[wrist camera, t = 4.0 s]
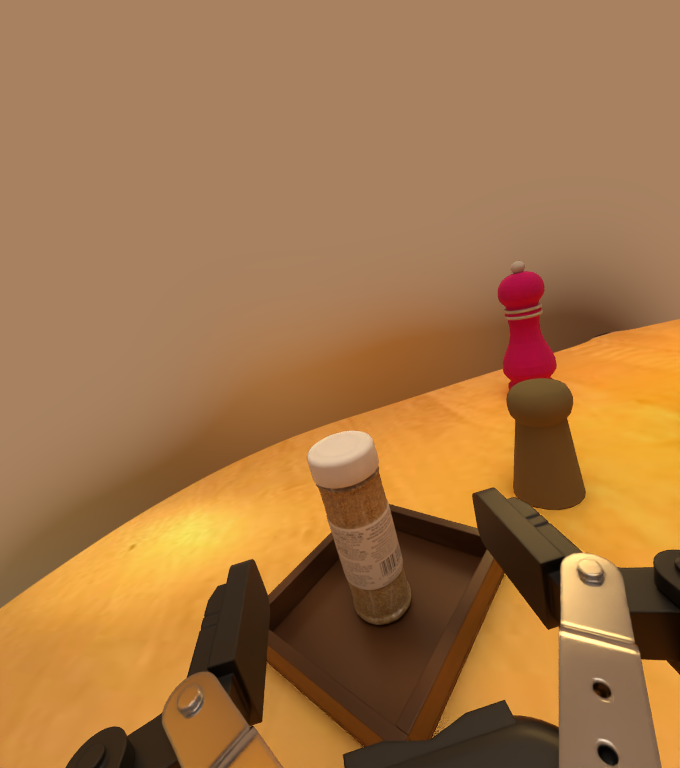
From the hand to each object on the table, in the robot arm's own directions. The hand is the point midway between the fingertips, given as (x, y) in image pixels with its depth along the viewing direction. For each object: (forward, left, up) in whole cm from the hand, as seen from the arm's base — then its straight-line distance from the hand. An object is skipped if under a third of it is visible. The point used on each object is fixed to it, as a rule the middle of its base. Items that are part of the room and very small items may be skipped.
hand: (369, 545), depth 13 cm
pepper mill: (-50, -8, -15) cm, 52 cm away
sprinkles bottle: (-8, -8, -15) cm, 19 cm away
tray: (-8, -8, -15) cm, 19 cm away
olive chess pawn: (-26, -1, -15) cm, 30 cm away
